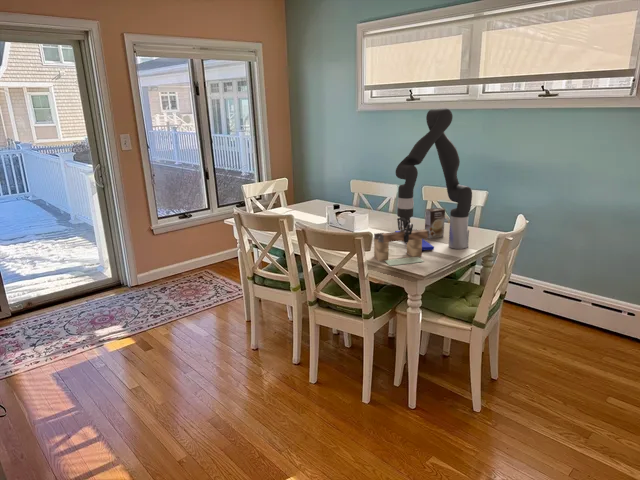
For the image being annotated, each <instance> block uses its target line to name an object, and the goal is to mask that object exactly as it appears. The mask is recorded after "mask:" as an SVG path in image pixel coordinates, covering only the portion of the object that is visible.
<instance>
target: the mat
mask: <svg viewBox="0 0 640 480" xmlns="http://www.w3.org/2000/svg"><path fill="white" fill-rule="evenodd" d="M384 262H385V264H387V265H388V266H389V267H394V266H401V265H408V264H409V265H410V264H411V265H412V264H418V263H425V260H424V259H422V258H420V256H418V257H412V256H410V257H404V258H403V257H402V258H397V259H396V258H395V259H394V258H393V259H388V260H385V261H384Z"/></svg>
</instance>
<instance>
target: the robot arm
mask: <svg viewBox="0 0 640 480" xmlns="http://www.w3.org/2000/svg"><path fill="white" fill-rule="evenodd" d="M425 117H426V124H427V127H428V130H429V131H428V132H427V133H426V134H425V135H423V136H422V137H421V138H419V140H418V141H417V142H416V143H415V144H414V145H413V147H412V149H411V150H410V152H409V153H408V155H407V156H406V157H404V158H403V159H402V160H401V162H400V163H398V165H397V166H396V168H395V175H396V178H397V179H399V180H405V181H404V183H403V184H400V185H399V186H398V192H397V194H398V196H397V204H396V205H397V207H396V208H397V211H396V213H397V214H396V215H397V219H396V220H397V228H398V229H397V231H400V232H402V231H404V241H403V242H404V243H406V242H408V241H409V235H411V232H412V230H413V228H414V224H413V223H411V218H412V217H413V216H414V205H415V204H414V203H415V202H414V201H415V200H414V189H415V187H416V186H415V185H416V182H417V179H418V177H419V176H418V174H419V173H418V171H419V170H418V169H417V167H416V166H417V165H421V164H422V162H423V161H424V159H425V158H426V156H427V154H428V152H429V151H430V150H431V148H432V147H433V146H434V145H435V149H436V151H437V155H438V158H439V159H438V160H439V163H440V165H441V169H442V172H443V177H444V179H445V185H446V192H447V196H448V198H449V200H450V201H452V202H454V203H457V205H456V208H452V209H451V210H450V215H449V232H448V233H449V235H448V248H451V249H454V250H455V249H456V250H463V249H466V248H468V247H469V238H470V230H469V228H468V227H469V215H470V211H471V208H472V200H473V190H472V188H471V187H470V186H467V185H462V184H460V181H459V179H458V175H457V174H458V171H459V167H460V164H461V163H460V162H461V161H460V157H459V152H458V150H457V147H456V145H454V143H453V142H452V141H451V140H450V138H448V136H447V134H446V133H445V131H446V130H447V129H448V128H449V127H450V125H451V123H452V122H453V113H452V111H451V109H449V108H446V107H445V108H441V107H440V108H431V109H429V110H428V111H427V113H426V116H425ZM409 231H410V232H409ZM406 244H407V243H406Z"/></svg>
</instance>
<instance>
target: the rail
mask: <svg viewBox="0 0 640 480" xmlns="http://www.w3.org/2000/svg"><path fill="white" fill-rule="evenodd" d="M412 230H413V231H412V232H411V235H409V240H414V239H424V240H425V239H430V238H429V231H428V230H426V229H425V228H424V229H417V230H414V229H412ZM409 232H410V231H409ZM379 233H380V241H381V242H382V243H384V242H389V243H392V242H404V231H402V232H395V231H392V232H379Z"/></svg>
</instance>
